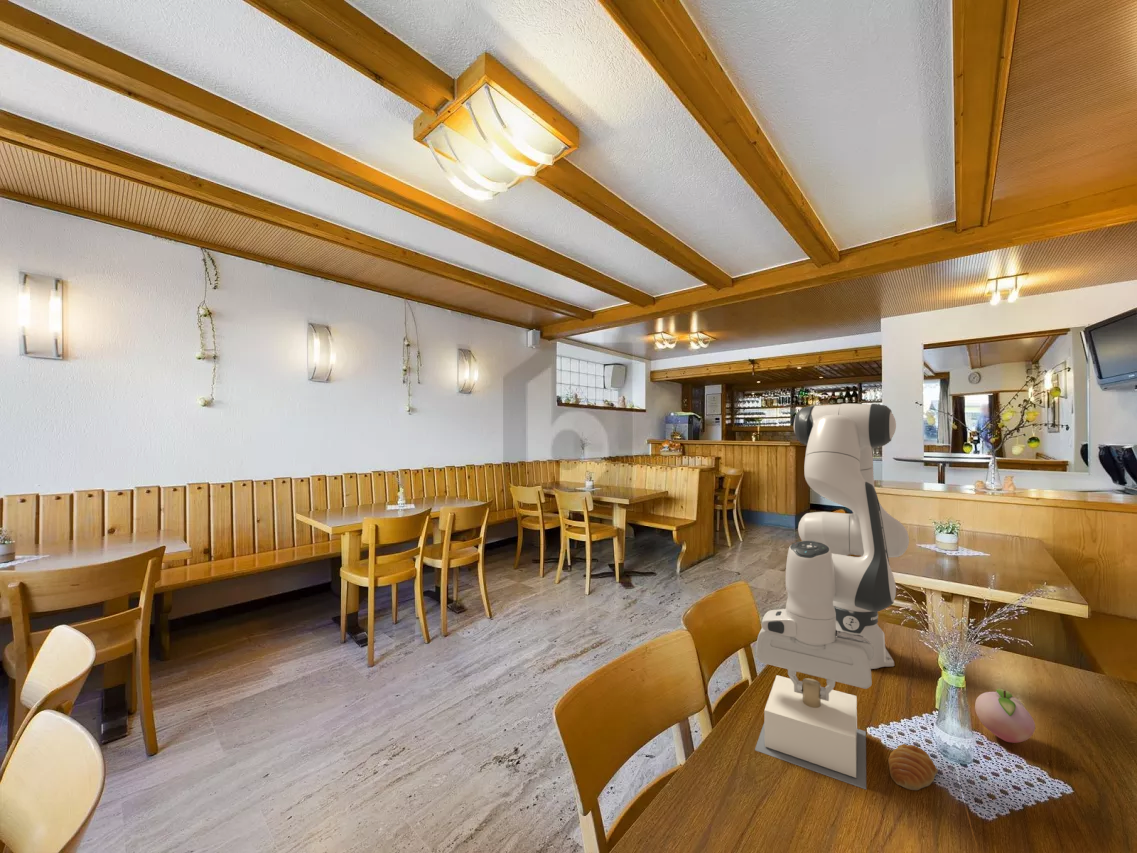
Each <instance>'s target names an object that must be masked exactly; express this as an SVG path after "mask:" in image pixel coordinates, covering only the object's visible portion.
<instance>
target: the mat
mask: <svg viewBox="0 0 1137 853" xmlns="http://www.w3.org/2000/svg"><path fill="white" fill-rule="evenodd" d="M866 732H867V731H866V730H864V729H863V730H862V729H860V728H857V762H856V778H855V777H852V776H849V775H846V774H843V773H840V772H837V771H835V770H832V769H829V768H826V767H823V766H820V765H817V764H814V763H811V762H809V761H806V760H803V759H800V758H797V757H794V756H791V755H788V754H785V753H782V752H780V751H777V750H774V749H771V748H768V747H765V725H764V723H763V724H762V727H761V730H760V733H759V736H758V740H757V742H756V744H755V748H754V751H755V752H757V753H761V754H764V755H768V756H770V757H772V758H775V759H779V760H782V761H785V762H787V763H789V764H793V765H796V766H799V767H801V768H804V769H807V770H810V771H812V772H816V773H818V774H821V775H822V776H823V775H824V776H827V777H829V778H832V779H835V780H838V781H841V782H844V783H846V784H850V785H852V786H855V787H857V788H861V789H863V790H867V736H866V735H867V734H866Z"/></svg>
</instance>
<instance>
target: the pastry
mask: <svg viewBox="0 0 1137 853" xmlns="http://www.w3.org/2000/svg"><path fill="white" fill-rule="evenodd" d="M887 760H888V767H889V774H890V777H891V779H892V780H893V782H894V783H895V784H896V785H897V786H901V787H902V788H904V789H906V790H911V791H919V790H921V789H924V788H926V787H929V786H931V784H932V783H933V782H934V781H935V778H936V775H937V774H938V771H939V770H938V767H937V766H936V765H935V762H934V761H933V760H932V759H931V757H930V755H929V754H928V753H927V752H926V751H925V750H923V749H922V748H921V747H918V746H916V745H913V744H905V743H902V744H900V745H898V746H897V748H895V749H893V750H892V751H891V752H890V755H889V757H888V759H887Z"/></svg>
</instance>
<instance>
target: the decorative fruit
mask: <svg viewBox="0 0 1137 853" xmlns="http://www.w3.org/2000/svg"><path fill="white" fill-rule="evenodd" d="M974 705H975V706H974V711H975V713H976V715H977V718H978V720H979V721H980V723H981V724H982V725H983V726H984V727H985V728H986V729H987V730H988V731H990V732H991V733H992V734H993V735H994V736H995V737H997V738H999V739H1001V740H1003V741H1004V742H1007V743H1014V744H1017V743H1022V742H1027V741H1028V740H1029V739H1030V738H1031V737H1033V734H1034V733H1035V731H1036V723H1035V721H1034V718H1033V717H1032V715H1031V714H1030V712H1029V711H1028V709H1026V708H1025V706H1024V704H1023V703H1022V702H1021V701H1020V700H1019V699H1018V698H1016V697H1015V696H1013V694H1012V693H1011V691H1009V690H1006V689H1003V688H997V689H995V691H985V692H983V693H981V694H979V695H978V697H976V700H975V703H974Z"/></svg>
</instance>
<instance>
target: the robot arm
mask: <svg viewBox="0 0 1137 853" xmlns="http://www.w3.org/2000/svg"><path fill="white" fill-rule="evenodd" d="M896 422H897V421H896V418H895V416H894V414H893V413H892V410H891V408H889V406H887V405H884V404H881V403H879V404H878V403H871V404H865V403H864V404H863V403H841V404H826V405H819V406H815V405H811V406H806V407H802V408H800V410H798V411H797V412H796V414H795V418H794V419H793V432H794V435H795V438H796V440H797V441H798V442H799V443H800V444H802V445H805V446H806V448H805V454H804V455H805V457H804V466H803V467H804V468H803V469H804V471H803V472H804V478H805V479H804V480H805V482H806V483H807V485H808V487H809V488H811V490H813V492H815V493H816V494H818V495H819V496H821V497H823V498H824V499H826V500H828V501H830V502H834V503H836V504H838V505H840V506H842V507H845V508H847V509H849V510H850V511H852V513H844V512H831V511H815V512H814V511H813V512H807V513H805V514H804V515H803V516H802V517H801V518H800V520H799V522H798V528H797V531H798V536H799V538H800V541H796V542H794V543H791V544H790V545H789V547H788V551H787V555H786V556H787V557H786V564H785V589H786V592H787V600H786V602H785V608H780V609H769V610H767V612H766V613H764V615H763V617H762V620H761V627H762V628H761V629H760V631H759V633H758V634H757V640H756V647H755V655H756V656H755V657H756V658H757V660H758V661H759V662H760V663H762V664H766V665H770V666H774V667H778V668H781V669H785V670H787V675H788V678H790V679H791V680H792V682H793V684H794V692H797V693H801V694H802V680H799V678H798V677H797V673H802V674H805V675H809V676H813V677H817V678H822V679H825V680H826V686H825V687H824V686H821V689H820V699H822V700H826V701H829V693H830V692H831V690H834V688H835V686H836V682H837V683H840V684H845V685H848V686H853V687H857V688H861V689H865V690H866V689H867V690H868V689H869V688H870V687H871V686H872V684H873V683H872V682H873V681H872V680H873V679H872V670H873V669H874V670H876V669H879V668H884V667H894V666H895V661H894V659H893V657H892V656H891V654H890V653H889V651H888V650H887V648H886V640H885V639H886V638H885V637H886V635H885V632H884V631H883V629H882V628H881V627H880V626H879V625H878V622H879V621H878V620H879V613H878V612H881V611H882V610H883V611H884V610H885V609H887V608H889V607H891V606H892V605H893V604H894V602H895V598H896V593H897V586H896V580H895V576H894V574H893V570H892V568H891V565H890V564H891V563H890V559H889V558H899V557H902V556H903V555H904V554H905V553H906V552H907V550H908V548H909V544H910V537H909V533H908V531H907V528H906V527H905V526H904V524H902V523H901V522H900V520H898V519H896V518H894V517H893V516H892V515H890V514H889V513H888V511H886V509H885V508H884V507H883V506H882V505H881V503H880V501H879V496H878V494H877V491H876V489H875V478H874V458H873V451H872V450H873V449H878V448H880V447H884V446H886V445H888V444H889V443H891V442H892V438H893V437H894V435H895V433H896V428H897V423H896ZM851 555H854V556H851Z"/></svg>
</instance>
